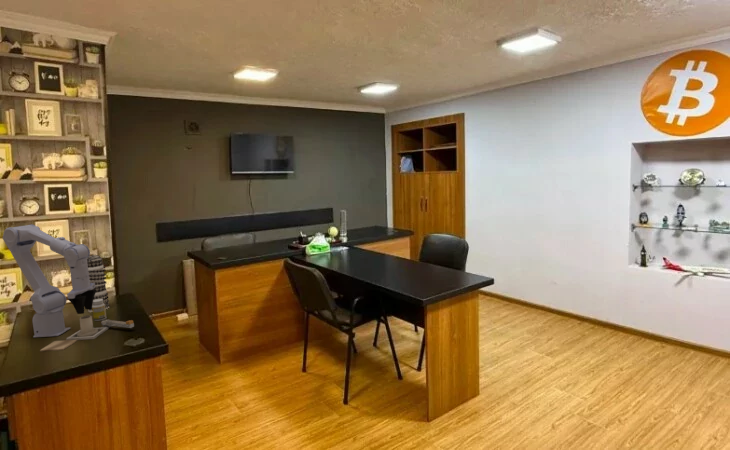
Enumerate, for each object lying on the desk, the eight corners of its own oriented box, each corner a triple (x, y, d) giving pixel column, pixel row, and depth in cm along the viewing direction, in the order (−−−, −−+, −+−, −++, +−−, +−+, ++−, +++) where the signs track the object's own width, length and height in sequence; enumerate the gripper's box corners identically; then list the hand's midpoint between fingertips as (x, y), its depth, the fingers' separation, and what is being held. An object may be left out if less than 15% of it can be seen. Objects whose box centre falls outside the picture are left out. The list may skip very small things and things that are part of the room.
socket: (66, 340, 159) (66, 338, 159) (82, 330, 169) (81, 328, 169) (93, 338, 160) (93, 336, 160) (108, 329, 170) (107, 327, 170)
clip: (128, 328, 165) (128, 322, 164) (99, 324, 170) (99, 319, 170) (135, 325, 167) (134, 320, 167) (106, 322, 173) (105, 316, 173)
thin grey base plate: (100, 329, 170) (100, 325, 170) (104, 326, 173) (104, 322, 172) (108, 328, 170) (107, 324, 170) (111, 326, 173) (111, 322, 172)
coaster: (40, 351, 150) (39, 350, 150) (54, 342, 158) (54, 341, 158) (63, 350, 151) (63, 348, 151) (77, 340, 159) (77, 339, 158)
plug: (73, 338, 161) (70, 320, 160) (84, 331, 168) (81, 314, 167) (92, 337, 161) (89, 319, 160) (101, 330, 168) (99, 313, 167)
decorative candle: (115, 307, 198) (108, 254, 194) (95, 313, 189) (88, 258, 186) (102, 305, 201) (95, 253, 198) (82, 311, 193) (75, 257, 190)
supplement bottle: (97, 317, 184) (95, 298, 183) (108, 316, 185) (106, 298, 183) (91, 321, 179) (88, 302, 178) (103, 320, 180) (100, 301, 179)
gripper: (79, 281, 154) (84, 317, 156) (101, 271, 169) (105, 304, 171) (59, 282, 154) (64, 318, 156) (83, 272, 168) (87, 305, 170)
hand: (84, 311), depth 163 cm, fingers open, 5 cm apart
